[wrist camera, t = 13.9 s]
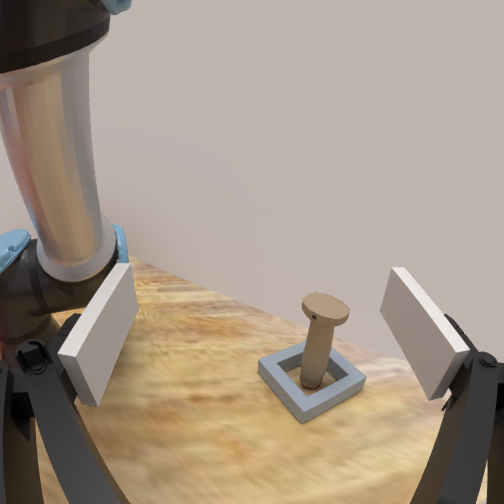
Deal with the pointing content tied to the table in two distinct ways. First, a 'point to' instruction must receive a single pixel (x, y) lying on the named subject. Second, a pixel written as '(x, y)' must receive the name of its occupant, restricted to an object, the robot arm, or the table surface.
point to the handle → (320, 334)
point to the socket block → (293, 396)
